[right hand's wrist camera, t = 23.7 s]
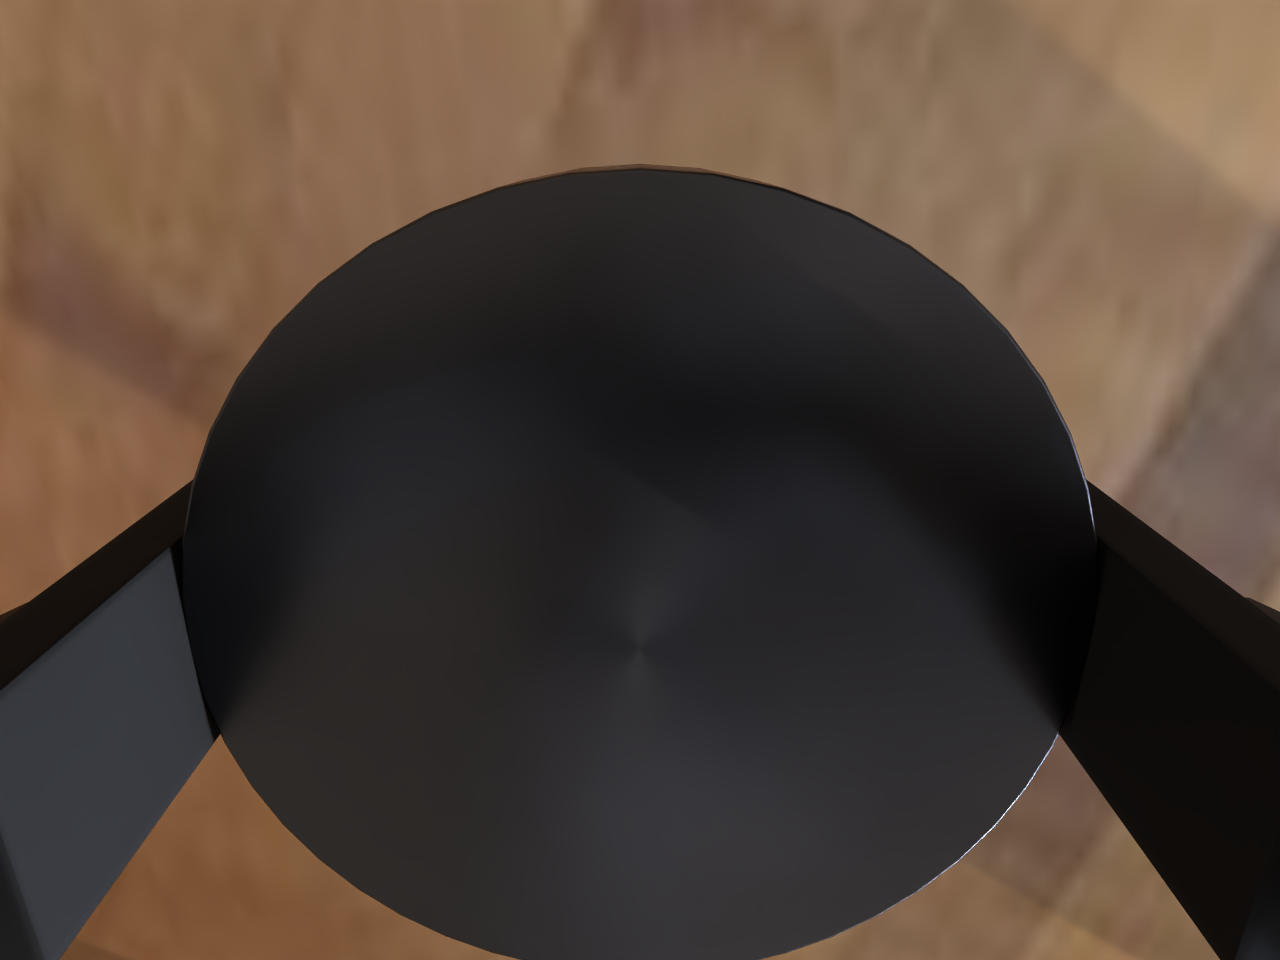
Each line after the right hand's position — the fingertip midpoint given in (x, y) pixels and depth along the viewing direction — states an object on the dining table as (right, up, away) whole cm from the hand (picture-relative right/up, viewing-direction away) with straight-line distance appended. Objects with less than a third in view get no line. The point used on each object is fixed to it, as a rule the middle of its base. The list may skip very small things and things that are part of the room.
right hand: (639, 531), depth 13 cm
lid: (0, -1, -3) cm, 3 cm away
